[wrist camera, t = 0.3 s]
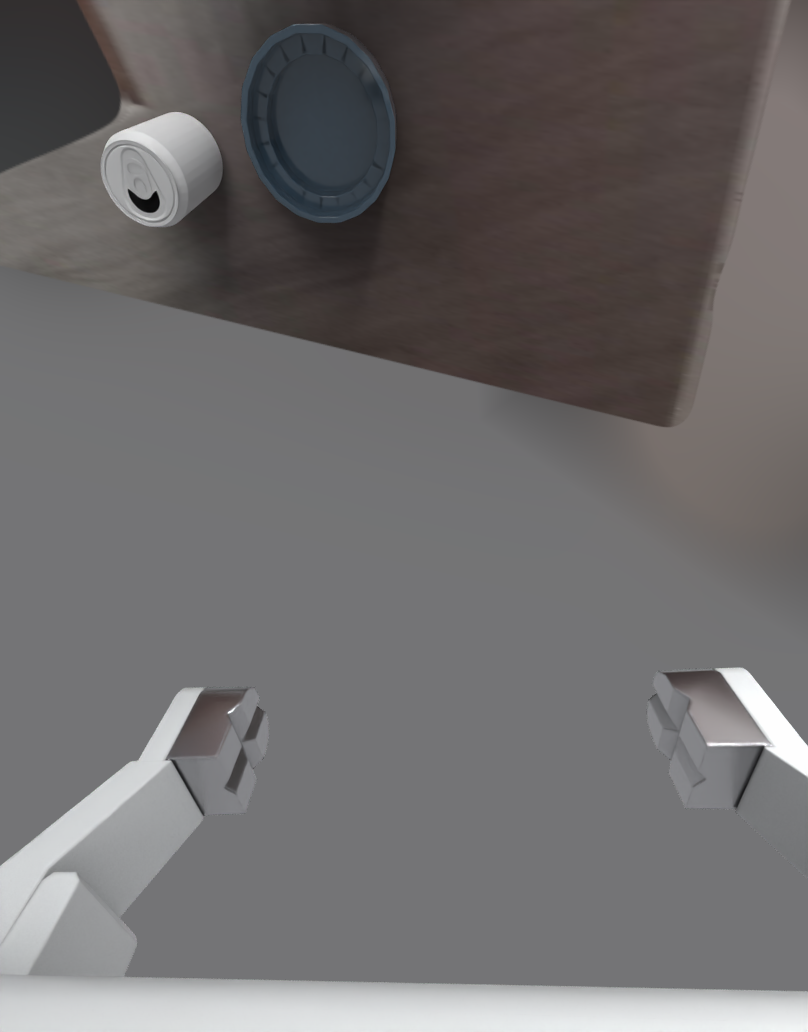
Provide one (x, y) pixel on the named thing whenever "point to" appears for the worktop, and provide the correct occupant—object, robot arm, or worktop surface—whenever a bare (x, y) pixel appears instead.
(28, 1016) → the robot arm
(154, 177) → the beverage can
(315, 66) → the bowl
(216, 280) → the worktop surface
